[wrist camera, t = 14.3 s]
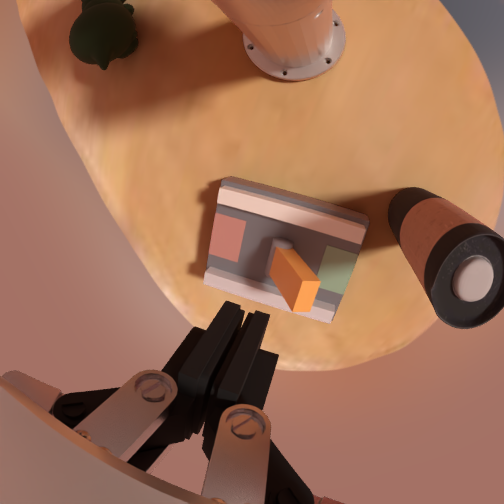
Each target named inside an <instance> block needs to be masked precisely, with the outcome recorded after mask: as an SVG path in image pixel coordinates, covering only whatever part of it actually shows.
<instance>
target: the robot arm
mask: <svg viewBox="0 0 504 504" xmlns="http://www.w3.org/2000/svg"><path fill="white" fill-rule="evenodd" d="M211 1H212V2H213V3H214V4H215V5H217V6H218V7H219V8H220V9H221V10H222V11H223V13H224V14H225V15H226V16H227V17H228V18H229V19H230V20H231V21H232V22H233V23H234V24H235V25H236V26H237V27H238V28H239V29H240V30H241V31H242V32H243V44H244V47H245V51H246V53H247V54H248V56H249V58H250V59H251V60H252V62H253V63H254V64H255V65H256V66H257V67H258V68H259V69H261V70H262V71H264V72H265V73H267V74H268V75H271V76H273V77H276V78H279V79H283V80H290V81H301V80H308V79H312V78H316V77H318V76H320V75H322V74H324V73H326V72H327V71H328V70H330V69H331V68H332V67H333V66H334V65H335V64H336V63H337V62H338V60H339V59H340V57H341V56H342V53H343V50H344V47H345V41H346V40H345V29H344V26H343V23H342V21H341V19H340V17H339V16H338V15H337V13H336V12H335V11H334V10H333V9H332V0H211ZM335 24H337V25H338V26H334V25H335ZM252 47H254V49H252V50H251V48H252ZM326 61H330V64H327V63H326ZM284 72H286V73H287V75H283V73H284ZM240 307H241V306H240V305H238V304H235V303H232V302H229V301H225V303H224V304H223V306H222V307H221V309H220V310H219V312H218V313H217V315H216V316H215V318H214V319H213V321H212V322H211V324H210V325H209V327H208V328H207V330H204V329H201V328H198V327H196V326H195V327H193V328H192V330H191V331H190V333H189V334H188V335H187V336H186V338H185V340H184V341H183V342H182V343H181V345H180V346H179V347H178V349H177V350H176V351H175V353H174V354H173V356H172V357H171V358H170V360H169V361H168V362H167V364H166V365H165V367H164V368H163V369H162V371H158V370H145V371H142V372H139V373H137V374H136V375H134V376H133V377H132V378H131V379H130V380H129V381H127V382H126V383H125V384H124V385H123V386H122V387H119V388H111V389H103V390H94V391H86V392H75V393H69V394H63V393H62V392H61V390H60V389H58V388H55V387H53V386H50V385H48V384H46V383H44V382H41V381H39V380H37V379H35V378H32V377H30V376H28V375H26V374H24V373H22V372H19V371H9V372H6V373H5V374H4V375H3V376H0V504H345V503H342V502H339V501H336V500H333V499H331V498H328V497H325V496H324V497H323V498H321V497H318V496H316V495H313V494H312V492H311V491H310V489H309V488H308V487H307V486H306V484H305V483H304V482H303V481H302V479H301V478H300V477H299V476H298V474H297V473H296V472H295V471H294V469H293V468H292V467H291V465H290V464H289V463H288V461H287V460H286V459H285V458H284V456H283V455H282V454H281V452H280V451H279V450H278V448H277V447H276V446H275V444H274V443H273V442H272V440H271V439H270V437H271V436H270V435H271V422H270V420H269V418H268V416H267V415H266V414H265V413H264V412H263V411H262V410H263V407H264V404H265V400H266V397H267V394H268V391H269V387H270V384H271V380H272V377H273V374H274V371H275V367H276V364H277V360H278V357H279V355H278V354H275V353H271V352H268V351H265V350H262V349H260V346H261V343H262V340H263V337H264V334H265V330H266V327H267V324H268V321H269V317H270V315H269V314H266V313H263V312H260V311H257V310H256V311H255V313H254V314H253V313H250V312H249V313H248V315H247V317H246V319H245V321H244V323H243V325H242V321H243V317H244V313H245V311H244V310H241V309H240ZM241 325H242V327H241ZM204 422H205V424H204ZM203 424H204V429H203V434H202V436H203V437H204V440H203V445H202V449H203V451H204V453H205V455H206V457H207V458H208V460H209V463H208V467H207V471H206V475H205V480H204V484H203V488H202V492H201V495H198V494H195V493H193V492H190V491H187V490H185V489H182V488H180V487H178V486H175V485H172V484H170V483H168V482H166V481H164V480H161V479H159V478H157V477H155V476H152V475H150V474H151V472H152V471H153V470H154V469H155V468H156V467H157V466H158V464H159V463H160V462H161V461H162V460H163V458H164V457H165V456H166V455H167V454H168V452H169V451H170V450H171V448H172V447H173V445H174V443H178V442H182V441H184V440H185V438H186V439H188V440H189V439H190V437H191V435H192V433H195V434H198V433H199V432H200V430H201V428H202V426H203Z"/></svg>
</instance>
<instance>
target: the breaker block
mask: <svg viewBox="0 0 504 504" xmlns="http://www.w3.org/2000/svg"><path fill="white" fill-rule="evenodd" d="M369 223H370V221H369V219H368V216H367V215H366V214H363V213H360V212H357V211H354V210H350V209H347V208H344V207H341V206H338V205H334V204H331V203H328V202H324V201H321V200H318V199H314V198H311V197H307V196H304V195H301V194H297V193H293V192H290V191H286V190H283V189H279V188H275V187H272V186H268V185H264V184H260V183H256V182H252V181H248V180H244V179H241V178H236V177H232V176H230V177H228V178H225V179H222V182H221V187H220V189H219V194H218V199H217V209H216V213H215V218H214V224H213V230H212V235H211V241H210V247H209V255H208V261H207V267H206V271H205V275H204V282H203V284H205V285H208V286H211V287H214V288H217V289H220V290H223V291H226V292H229V293H232V294H235V295H238V296H241V297H244V298H247V299H250V300H253V301H256V302H260V303H263V304H266V305H269V306H272V307H275V308H279V309H282V310H285V311H288V312H292V311H291V309H290V308H289V306H288V304H287V303H286V301H285V299H284V298H283V296H282V295H281V293H280V291H279V290H278V288H277V286H276V285H275V283H274V282H273V280H272V279H271V278H269V277H267V276H266V275H265V269H266V265H267V261H268V257H269V253H270V249H271V245H272V242H273V238H275V237H282V238H286V239H289V240H290V241H292V242H293V249H294V250H295V251H296V252H297V254H298V255H299V256H300V257H301V258H302V259H303V261H304V262H305V263H306V264H307V265H308V267H309V268H310V269H311V270H312V271H313V272H314V274H315V275H316V276H317V277H318V278H319V280H320V281H321V283H320V286H319V288H318V291H317V294H316V297H315V299H314V302H313V305H312V307H311V310H310V312H292V313H295V314H298V315H302V316H305V317H308V318H312V319H315V320H318V321H322V322H325V323H329V324H330V322H331V321H332V320H333V318H334V316H335V313H336V311H337V309H338V306H339V304H340V301H341V299H342V296H343V294H344V292H345V289H346V287H347V284H348V282H349V279H350V277H351V274H352V271H353V269H354V266H355V263H356V261H357V258H358V255H359V252H360V249H361V246H362V244H363V241H364V238H365V235H366V232H367V229H368V226H369Z"/></svg>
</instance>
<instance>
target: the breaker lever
mask: <svg viewBox="0 0 504 504" xmlns="http://www.w3.org/2000/svg"><path fill="white" fill-rule="evenodd" d="M265 275H266V276H267V277H269V278H271V279H272V280H273V282H274V283H275V285H276V286H277V288H278V290H279V291H280V293H281V295H282V296H283V298H284V299H285V301H286V303H287V304H288V306H289V308H290V309H291V311H292V312H310V310H311V307H312V305H313V302H314V299H315V297H316V294H317V291H318V288H319V286H320V283H321V281H320V280H319V278H318V277H317V276H316V275H315V274H314V272H313V271H312V270H311V269H310V268H309V267H308V265H307V264H306V263H305V262H304V261H303V259H302V258H301V257H300V256H299V255H298V254H297V252H296V251H295V250H294V249H293V242H292V241H290V240H289V239H286V238H282V237H275V238H273V242H272V245H271V249H270V253H269V257H268V261H267V265H266V269H265Z"/></svg>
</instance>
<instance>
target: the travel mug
mask: <svg viewBox="0 0 504 504" xmlns="http://www.w3.org/2000/svg"><path fill="white" fill-rule="evenodd" d="M388 220H389V224H390V227H391V229H392V231H393V233H394V235H395V237H396V239H397V241H398V243H399V245H400V247H401V249H402V251H403V253H404V255H405V257H406V259H407V260H408V262H409V264H410V265H411V267H412V269H413V271H414V272H415V274H416V276H417V278H418V279H419V281H420V283H421V285H422V287H423V288H424V290H425V292H426V294H427V296H428V298H429V300H430V302H431V303H432V305H433V307H434V310H435V312H436V314H437V316H438V317H439V318H440V319H441V320H442V321H443V322H445V323H446V324H448V325H450V326H452V327H455V328H460V329H469V328H474V327H477V326H480V325H483V324H484V323H486V322H488V321H489V320H491V319H492V318H493V317H495V316H496V315H497V314H498V313H499V312H500V311H501V310H502V309H503V307H504V239H503V238H502V237H501V236H500V235H498V234H497V233H496V232H494V231H493V230H491V229H490V228H489V227H487V226H486V225H484V224H483V223H482V222H480V221H479V220H477V219H476V218H474V217H473V216H471V215H470V214H468V213H467V212H465V211H464V210H462V209H461V208H459V207H457V206H456V205H454V204H453V203H451V202H450V201H448V200H446V199H444V198H441V197H439V196H437V195H435V194H433V193H431V192H429V191H426V190H424V189H421V188H416V187H411V188H407V189H404V190H402V191H401V192H399V193H398V194H397V195H396V196H395V197H394V198H393V200H392V202H391V204H390V206H389V211H388Z"/></svg>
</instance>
